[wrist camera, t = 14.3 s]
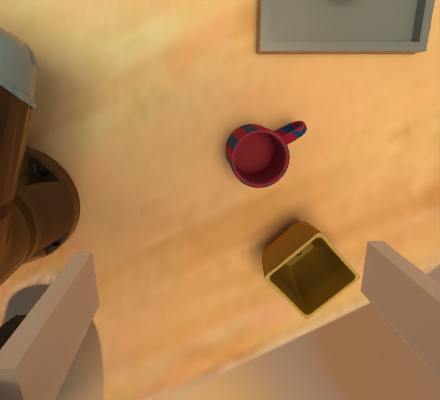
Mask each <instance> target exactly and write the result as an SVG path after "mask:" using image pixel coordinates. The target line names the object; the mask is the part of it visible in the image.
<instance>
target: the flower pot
mask: <svg viewBox="0 0 440 400" xmlns="http://www.w3.org/2000/svg"><path fill="white" fill-rule="evenodd" d="M299 252H300V254H299V255H297V253H299ZM262 264H263V270H264V276H265V280H266V281H267V282H268V283H269V284H270V285H271V286H272V287H273V288H274V289H275V290H277V291H278V292H279V293H280V294H281V295H282V296H283V297H284V298H285V299H286V300H287V301H288V302H289V303H290V304H291V305H292V306H293V307H294V308H295V309H296V310H297V311H298V312H299V313H300V314H301V315H302V316H303V317H304V318H306V319H308V318H310V317H312V316H313V315H314V314H315V313H317V312H318V311H319V310H320V309H322V308H323V307H324V306H325V305H327V304H328V303H329V302H331V301H332V300H333V299H334V298H336V297H337V296H338V295H340V294H341V293H342V292H343V291H345V290H346V289H348V288H349V287H350V286H351V285H353V284H354V283H355V282H356V281H357V280H359V278H360V276H359V274H358V273H357V272H356V271H355V270H354V269H353V268H352V267H351V265H350V264H349V263H348V262H347V261H346V260H345V259H344V258H343V256H342V255H341V254H340V253H339V252H338V251H337V250H336V249H335V247H334V246H333V245H332V244H331V243H330V241H329V240H328V239H327V238H326V237H325V236H324V235H323V234H322V233H321V232H320V231H318V230H317V229H316V228H314V227H313V226H311V225H310V224H308V223H306V222H298V223H295V224H294V225H292V226H291V227H290V228H289V229H287V230H286V231H285V232H284V233H283V234H281V235H280V236H279V237H278V238H277V239H275V240H274V241H273V242H272V243H271V244H270V245H269V246H268V247H267V248H266V249H265V251H264V252H263V255H262Z"/></svg>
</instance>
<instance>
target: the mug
mask: <svg viewBox="0 0 440 400" xmlns="http://www.w3.org/2000/svg"><path fill="white" fill-rule="evenodd" d="M306 130H307V127H306V124H305V123H304V122H303V121H296V122H293V123H290V124H288V125H286V126H284V127H282V128H280V129H278V130H276V131H275V132H274V131H271V130H269V129H267V128H264V127H262V126H260V125H256V124H248V125H244V126H241V127H239V128H237V129H236V130H235V131H234V132H233V133H232V134H231V135H230V137H229V139H228V141H227V144H226V157H227V160H228V162H229V164H230V166H231V168H232V170H233V172H234V174H235V176H236V177H237V178H238V179H239V180H240V181H241V182H242V183H244V184H245V185H248V186H250V187H255V188H262V187H267V186H270V185H272V184H274V183H276V182H277V181H278V180H279V179H280V178H281V177H282V176H283V175H284V173H285V172H286V170H287V168H288V164H289V158H290V156H289V149H288V146H287V144H289V143H291V142H293V141H295V140H296V139H298V138H299V137H301V136H302V135H303V134H304V133H305V132H306Z"/></svg>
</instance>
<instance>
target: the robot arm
mask: <svg viewBox="0 0 440 400" xmlns="http://www.w3.org/2000/svg"><path fill="white" fill-rule="evenodd" d="M37 72H38V63H37V59H36V56H35V54H34V53H33V51H32V50H31V48H30V47H29V46H28V45H27V44H26V43H25V42H24V41H22V40H21V39H19V38H18V37H16V36H14V35H13V34H11V33H9V32H7V31H5V30H4V29H2V28H0V285H1V284H2V283H3V282H4V281H5V280H6V279H7V278H8V277H10V276H11V275H12V274H13V273H14V272H15V271H16V270H17V269H18V268H19V267H20V266H21V265H22V264H25V263H28V262H31V261H33V260H36V259H39V258H42V257H45V256H47V255H49V254H51V253H52V252H54V251H55V250H57V249H58V248H59V247H60V246H61V245H62V244H63V243H64V242H65V241H66V240H67V239H68V238H69V237H70V235H71V234H72V233H73V231H74V229H75V227H76V225H77V222H78V219H79V213H80V203H79V197H78V193H77V190H76V188H75V185H74V183H73V181H72V180H71V178H70V177H69V175H68V174H67V173H66V171H65V170H64V169H63V168H62V167H61V166H60V165H59V164H58V163H57V162H55V161H54V160H53V159H52V158H50V157H49V156H47V155H45V154H43V153H41V152H39V151H37V150H34V149H32V148H28V147H26V141H27V136H28V131H29V126H30V121H31V115H32V110H33V109H35V108H36V103H35V101H34V94H35V86H36V79H37ZM361 292H362V293H363V294H364V295H365V296H366V298H367V299H368V300H369V301H370V302H371V303H372V304H373V306H374V307H375V308H376V309H377V310H378V312H379V313H380V314H381V315H382V316H383V317H384V319H385V320H386V321H387V322H388V323H389V325H390V326H391V327H392V328H393V329H394V330H395V331H396V333H397V334H398V335H399V336H400V337H401V339H402V340H403V341H404V342H405V343H406V344H407V346H408V347H409V348H410V349H411V350H412V351H413V353H414V354H415V355H416V356H417V357H418V358H419V360H420V361H421V362H422V363H423V364H424V365H425V367H426V368H427V369H428V370H429V371H430V372H431V374H432V375H433V376H434V377H435V378H436V380H437V381H438V382H439V383H440V285H439V284H438V283H437V282H435V281H434V280H433V279H432V278H430V277H429V276H428V275H426V274H425V273H424V272H422V271H421V270H420V269H419V268H417V267H416V266H415V265H413V264H412V263H411V262H409V261H408V260H407V259H406V258H404V257H403V256H402V255H400V254H399V253H398V252H396V251H395V250H394V249H392V248H391V247H390V246H389V245H387V244H386V243H385V242H383V241H373V242H368V243H367V250H366V257H365V264H364V271H363V278H362V285H361ZM98 306H99V297H98V290H97V283H96V276H95V269H94V262H93V255H92V253H75V254H74V255H73V257H72V258H71V259H70V261H69V262H68V263H67V264H66V266H65V267H64V268H63V270H62V271H61V272H60V273H59V275H58V276H57V277H56V279H55V280H54V281H53V283H52V284H51V285H50V286H49V288H48V289H47V290H46V292H45V293H44V294H43V295H42V297H41V298H40V299H39V301H38V302H37V303H36V304H35V306H34V307H33V309H32V310H31V311H30V312H29V314H28V315H18V316H17V315H16V316H15V317H13V318H12V319H11V320H9V321H8V322H6V323H5V324H3V325H2V326H1V327H0V400H55V398H56V396H57V394H58V392H59V390H60V387H61V385H62V383H63V381H64V379H65V376H66V375H67V372H68V370H69V368H70V366H71V364H72V362H73V359H74V357H75V355H76V353H77V351H78V349H79V347H80V345H81V342H82V340H83V338H84V336H85V334H86V332H87V329H88V327H89V325H90V323H91V321H92V319H93V317H94V314H95V312H96V310H97V308H98Z"/></svg>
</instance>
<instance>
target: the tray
mask: <svg viewBox="0 0 440 400" xmlns="http://www.w3.org/2000/svg"><path fill="white" fill-rule="evenodd" d="M434 1H435V0H258V18H257V54H414V53H419V52H424V51H426V48H427V42H428V37H429V31H430V25H431V19H432V13H433V7H434Z"/></svg>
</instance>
